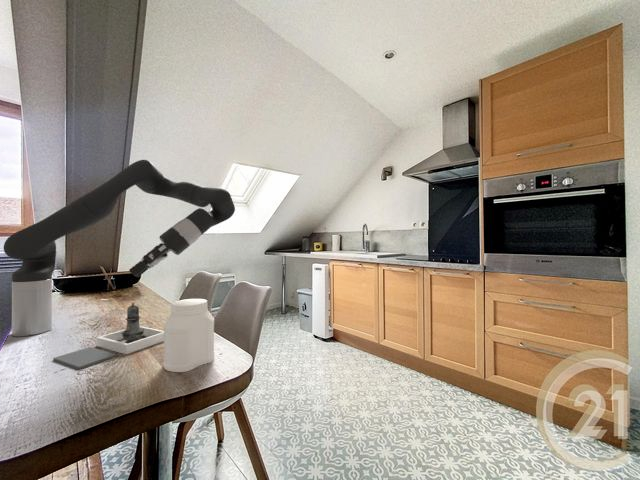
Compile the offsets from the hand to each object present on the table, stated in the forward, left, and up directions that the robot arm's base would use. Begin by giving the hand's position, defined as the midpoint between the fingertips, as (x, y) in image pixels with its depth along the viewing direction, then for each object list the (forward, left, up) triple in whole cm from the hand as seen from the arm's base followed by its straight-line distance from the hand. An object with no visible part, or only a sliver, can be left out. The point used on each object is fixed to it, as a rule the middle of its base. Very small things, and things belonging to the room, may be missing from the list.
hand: (133, 274), depth 77 cm
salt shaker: (-6, +4, -21) cm, 22 cm away
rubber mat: (-6, -8, -21) cm, 23 cm away
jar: (+20, +2, -21) cm, 29 cm away
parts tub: (-6, +4, -21) cm, 22 cm away
